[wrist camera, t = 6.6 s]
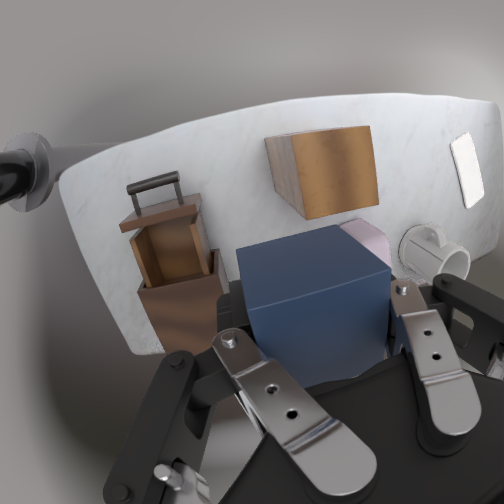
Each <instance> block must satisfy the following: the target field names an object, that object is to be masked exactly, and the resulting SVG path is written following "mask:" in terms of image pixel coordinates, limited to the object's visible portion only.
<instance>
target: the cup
mask: <svg viewBox="0 0 504 504" xmlns="http://www.w3.org/2000/svg"><path fill="white" fill-rule="evenodd" d="M399 257H400V260H401V262H402V263H403V264H404V265H405V266H406V267H407V268H409V269H411V270H414V271H415V272H417V273H418V274H419V275H420V276H421V277H422V278H423V279H424V280H425V281H426V282H427V283H429V284H430V285H432V282H433V278H434V277H435V276H436V275H438V274H441V273H449V274H453V275H455V276H457V277H459V278H461V279H463V280H465V279H466V277H467V275H468V272H469V268H470V254H469V252H468V250H467V249H465V248H464V247H461V246H459V245H457V244H455V243H453V242H450V241H448V240H447V238H446V233H445V230H444V229H443V227H441V226H439V225H436V224H434V223H428V224H427V225H425V226H424V225H417V226H414V227H413V228H411V229H410V230H408V232H407V233H406V234H405V235H404V237H403V239H402V241H401V244H400V249H399Z"/></svg>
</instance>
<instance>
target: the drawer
mask: <svg viewBox="0 0 504 504" xmlns="http://www.w3.org/2000/svg"><path fill="white" fill-rule="evenodd" d="M179 181H180V176H179V173H178V171H173V172H170V173H166V174H163V175H159V176H156V177H152V178H149V179H146V180H142V181H139V182H136V183H133V184H130V185H127V193H128V194H129V195H131V198H132V201H133V205H134V208H135V211H134V212H133V213H132V214H130V215H129V216H128V217H127V218H126V219H125V220H123V221H122V222H121V223H120V224H119V226H120V229H121V232H122V233H124V232H127V231H131V230H134V229H138V228H140V229H139V230H138V231H137V232H136V233H135V234H134V236H133V237H132V238H131V239H130V240H129V241H130V244H131V247H132V249H133V252H134V255H135V258H136V260H137V263H138V266H139V268H140V271H141V274H142V276H143V279H144V281H145V284H146V286H147V287H152V286H157V285H161V284H166V283H171V282H175V281H180V280H185V279H190V278H194V277H199V276H203V275H208V274H213V270H214V261H213V257H212V254H211V250H210V247H209V243H208V239H207V235H206V232H205V228H204V224H203V220H202V216H201V213H200V210H199V207H200V205H201V202H202V199H201V195H200V193H197V194H193V195H189V196H186V197H183V196H182V193H181V189H180V185H179ZM171 183H174V187H175V191H176V194H177V198H178V199H174V200H170V201H166V202H163V203H159V204H156V205H152V206H148V207H145V208H141V209H140V206H139V203H138V199H137V196H136V193H140V192H143V191H146V190H150V189H153V188H157V187H160V186H164V185H167V184H171Z"/></svg>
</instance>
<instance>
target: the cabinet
mask: <svg viewBox="0 0 504 504" xmlns="http://www.w3.org/2000/svg"><path fill="white" fill-rule="evenodd" d="M211 254H212V257H213V261H214V270H213V274H208V275H203V276H199V277H194V278H190V279H185V280H180V281H175V282H171V283H166V284H161V285H157V286H152V287H147V286H146V284H145V281H144V279H143V281H142V283H141V285H140V287H139V289H138V291H137V293H138V295H139V297H140V300H141V302H142V304H143V307H144V309H145V311H146V313H147V315H148V318H149V320H150V322H151V324H152V326H153V328H154V330H155V332H156V334H157V336H158V338H159V340H160V342H161V344H162V346H163V348H164V350H165V352H166V354H167V355H168V354H170V353H172V352H175V351H178V350H186V351H189V352H191V353H192V354H193V355H194V356H195V355H197V354H199V353H202V352H204V351H206V350H207V349H209V348H210V347H211V346H212V340H213V338H214V337H215V336H216V335H217V306H216V302H217V300H218V298H219V297H220V295H222V294H226V293H230V290H229V284H228V280H227V277H226V273H225V269H224V265H223V262H222V258H221V254H220V250H219V249H215V250H211Z"/></svg>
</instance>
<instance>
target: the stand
mask: <svg viewBox="0 0 504 504" xmlns="http://www.w3.org/2000/svg"><path fill="white" fill-rule="evenodd" d="M265 144H266V148H267V153H268V158H269V162H270V167H271V172H272V177H273V182H274V187H275V191H276V192H277V193H278V194H279V195H280V196H281V197H283V198H284V199H285V200H286V201H287V202H288V203H289V204H290V205H291V206H292V207H293V208H294V209H295V210H296V211H297V212H298V213H299V214H300V215H301V216H302V217H303V218H304V219H305V220H310V219H315V218H319V217H324V216H328V215H333V214H337V213H342V212H346V211H351V210H355V209H360V208H365V207H369V206H374V205H379V199H378V187H377V177H376V168H375V159H374V152H373V144H372V138H371V131H370V126H355V127H340V128H328V129H318V130H310V131H304V132H297V133H291V134H285V135H279V136H274V137H268V138H265Z"/></svg>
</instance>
